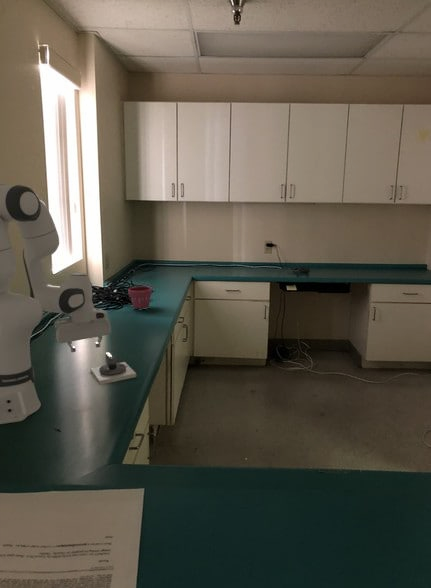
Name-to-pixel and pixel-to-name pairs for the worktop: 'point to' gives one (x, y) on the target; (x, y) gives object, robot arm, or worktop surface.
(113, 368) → the dial
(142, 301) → the plant pot
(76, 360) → the worktop surface
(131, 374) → the dial base
